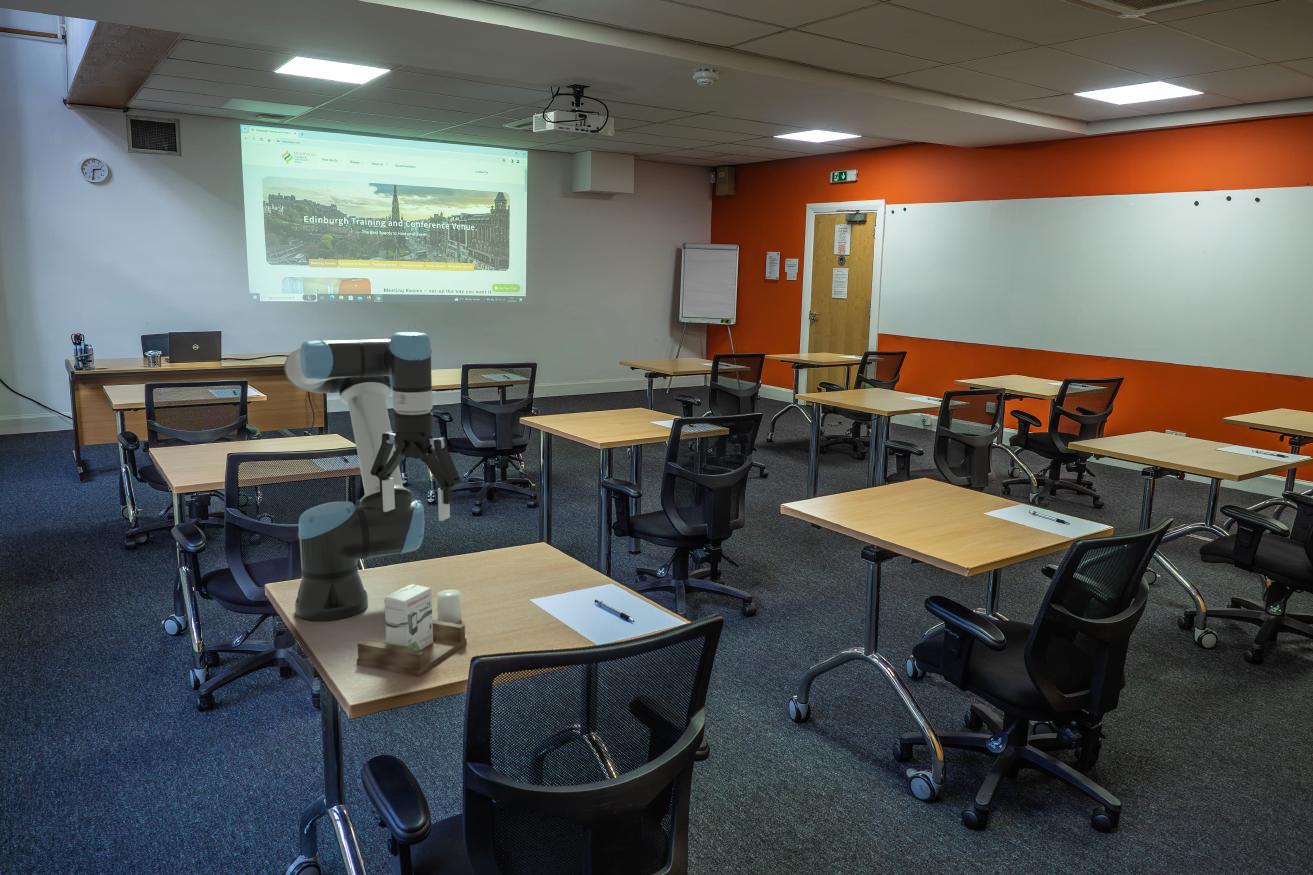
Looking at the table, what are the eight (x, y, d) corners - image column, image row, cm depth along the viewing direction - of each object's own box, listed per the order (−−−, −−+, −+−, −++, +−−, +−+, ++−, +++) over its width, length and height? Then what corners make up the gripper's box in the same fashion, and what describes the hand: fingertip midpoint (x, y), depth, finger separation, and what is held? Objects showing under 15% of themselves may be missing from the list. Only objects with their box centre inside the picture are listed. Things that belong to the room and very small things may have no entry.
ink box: (406, 659, 160) (404, 601, 158) (385, 655, 162) (382, 597, 160) (434, 642, 168) (432, 586, 166) (414, 638, 169) (411, 582, 167)
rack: (356, 664, 160) (355, 644, 159) (408, 632, 175) (407, 614, 174) (418, 676, 155) (417, 656, 155) (466, 642, 170) (466, 624, 169)
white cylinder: (433, 622, 180) (432, 595, 179) (446, 614, 185) (445, 588, 184) (453, 625, 179) (452, 599, 178) (466, 617, 183) (465, 591, 182)
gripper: (349, 408, 167) (354, 511, 171) (454, 420, 158) (457, 527, 162) (375, 403, 174) (379, 501, 178) (477, 414, 165) (479, 517, 169)
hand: (416, 514), depth 170 cm, fingers open, 13 cm apart
